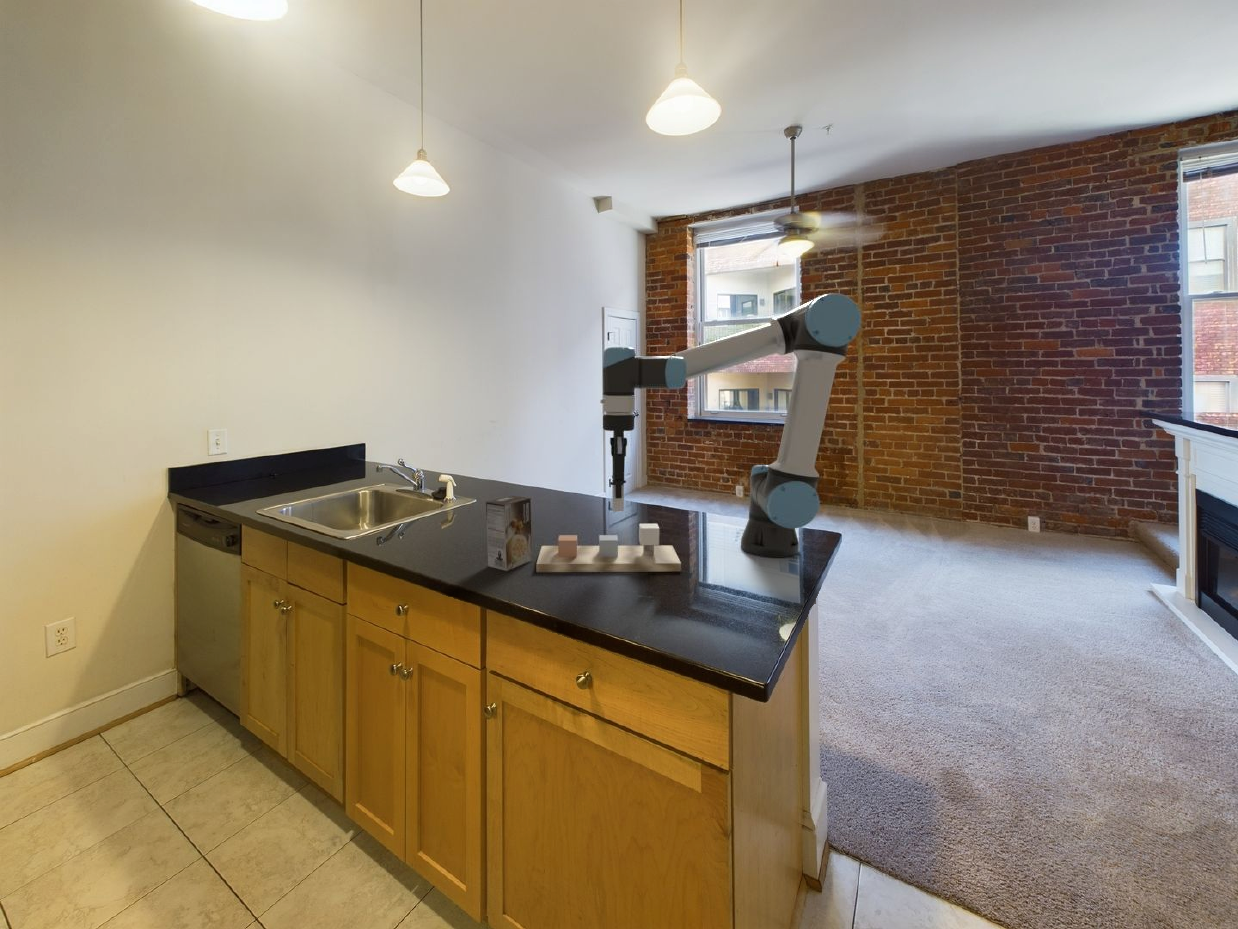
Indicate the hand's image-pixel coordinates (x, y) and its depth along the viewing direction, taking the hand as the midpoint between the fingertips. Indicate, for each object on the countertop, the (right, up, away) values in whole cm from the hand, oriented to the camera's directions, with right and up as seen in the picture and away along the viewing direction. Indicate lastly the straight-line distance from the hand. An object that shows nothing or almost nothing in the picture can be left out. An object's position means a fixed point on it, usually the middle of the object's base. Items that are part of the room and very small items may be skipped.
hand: (618, 510), depth 131 cm
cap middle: (-2, -11, +2) cm, 11 cm away
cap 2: (+8, -8, +2) cm, 11 cm away
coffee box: (-26, -13, 0) cm, 29 cm away
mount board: (-2, -13, +2) cm, 13 cm away
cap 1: (-12, -11, +1) cm, 17 cm away
